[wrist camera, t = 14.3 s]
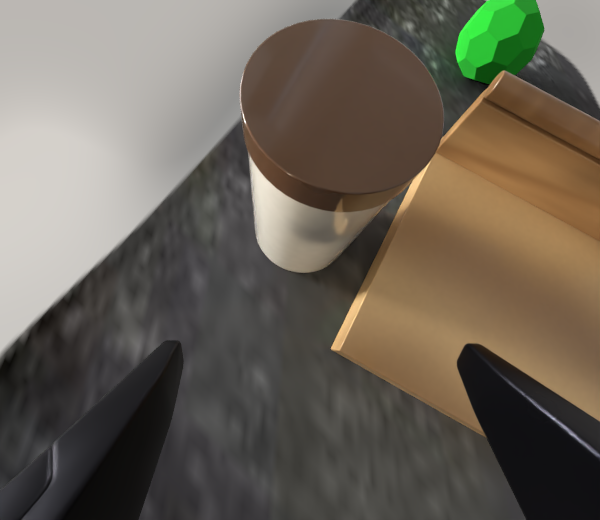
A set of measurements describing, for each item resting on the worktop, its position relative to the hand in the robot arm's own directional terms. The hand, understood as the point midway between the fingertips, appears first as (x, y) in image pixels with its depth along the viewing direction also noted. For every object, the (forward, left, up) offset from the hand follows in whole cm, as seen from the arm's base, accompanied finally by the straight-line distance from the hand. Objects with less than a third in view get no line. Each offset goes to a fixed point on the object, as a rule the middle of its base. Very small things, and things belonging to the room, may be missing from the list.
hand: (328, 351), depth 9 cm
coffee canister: (+7, +1, -7) cm, 10 cm away
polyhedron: (+22, -10, -7) cm, 25 cm away
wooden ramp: (+4, -11, -7) cm, 13 cm away
